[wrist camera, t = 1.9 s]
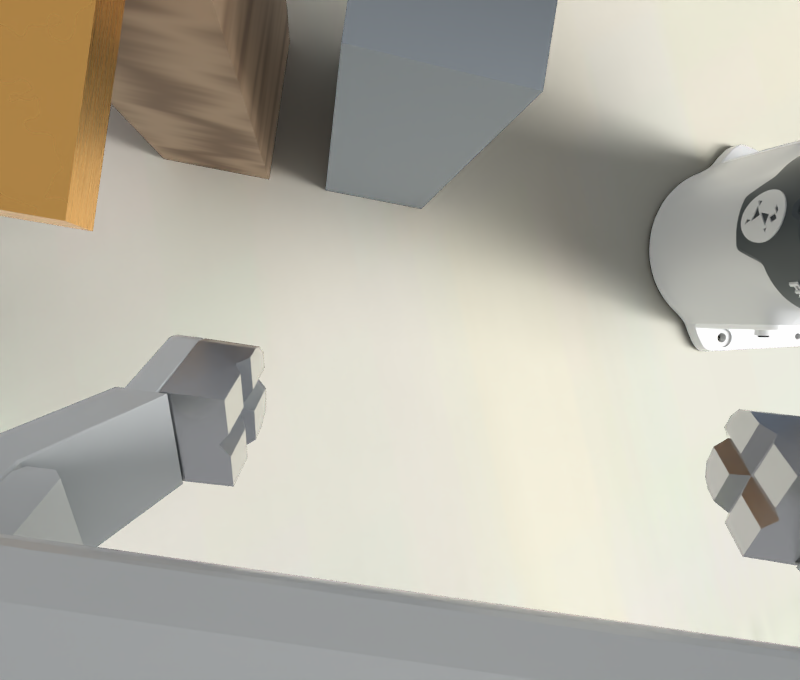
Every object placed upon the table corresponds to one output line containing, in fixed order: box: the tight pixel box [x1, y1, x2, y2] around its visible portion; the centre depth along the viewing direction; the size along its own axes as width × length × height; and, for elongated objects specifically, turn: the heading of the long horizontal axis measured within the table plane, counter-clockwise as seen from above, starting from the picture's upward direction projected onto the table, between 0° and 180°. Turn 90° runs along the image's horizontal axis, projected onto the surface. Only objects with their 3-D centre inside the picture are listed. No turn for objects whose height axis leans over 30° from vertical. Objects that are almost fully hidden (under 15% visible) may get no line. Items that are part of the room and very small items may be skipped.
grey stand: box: [326, 0, 557, 209], centre depth 32 cm, size 8×11×24 cm
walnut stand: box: [111, 0, 290, 179], centre depth 30 cm, size 8×11×25 cm
